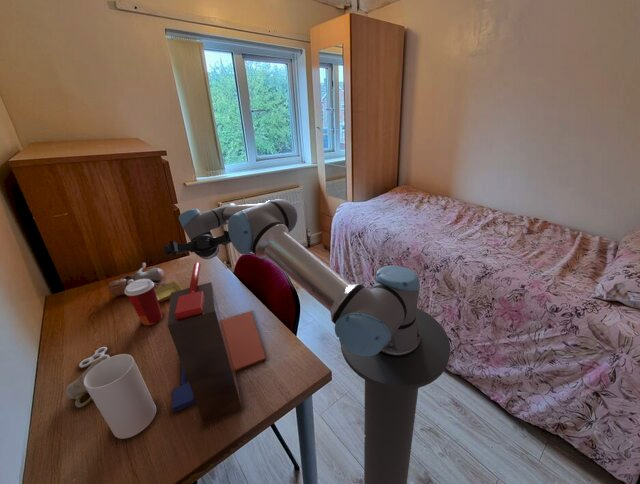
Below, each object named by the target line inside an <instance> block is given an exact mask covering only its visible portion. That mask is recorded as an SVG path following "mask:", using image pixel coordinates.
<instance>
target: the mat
mask: <svg viewBox="0 0 640 484" xmlns="http://www.w3.org/2000/svg"><path fill="white" fill-rule="evenodd" d="M222 323H223V327H224V331H225V334H226V338H227V342H228V346H229V349H230V353H231V357H232V361H233V364H234V368H235V372H237V371H240V370H243V369H245V368H247V367H250V366H253V365H255V364H258V363H260V362H263V361H265V360H266V356H265V353H264V349H263V346H262V341H261V338H260V336H259V332H258V329H257V326H256V322H255V319H254V316H253V313H252V311H247V312H244V313H241V314H237V315H234V316H232V317H228V318H224V319H222Z"/></svg>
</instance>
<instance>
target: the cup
mask: <svg viewBox="0 0 640 484" xmlns="http://www.w3.org/2000/svg"><path fill="white" fill-rule="evenodd" d="M106 358H107V357H106ZM84 386H85V387H86V389H87V391H88V393H87V394H89V396H90V397H91V398H92V401H93V402H94V404H95V406H96V407H97V409H98V411H99V413H100V414H101V416H102V418H103V419H104V421H105V423H106V425H107V426H108V427H109V429H110V430H111V432H112V434H113V436H114V437H115V438H117V439H129V438H132V437H134V436H136V435H138V434H139V433H141V432H142V431H144V430H145V429H146V428H148V426H150V425H151V423H152V422H153V420H154V419H155V417H156V414H157V406H156V403H155V401H154V399H153V397H152V395H151V393H150V390H149V388H148V386H147V384H146V382H145V380H144V378H143V375H142V374H141V372H140V369H139V367H138V365H137V363H136V361H135V358H134V357H133V355H131V354H128V353H120V354H116V355H112V356H110V357H109V358H107V359H105V360H103V361H101V362H100V363H98V364H97V365H95V366H94V367H93V368H92V369H91V370H90V371H89V372H88V373H87V374H86V376H85V378H84Z"/></svg>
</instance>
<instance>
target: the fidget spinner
mask: <svg viewBox="0 0 640 484" xmlns="http://www.w3.org/2000/svg"><path fill="white" fill-rule="evenodd" d="M107 351H108V347H107V346H102V347H99V348H97V349H96V350H95V351H94V354H93V355H92V356H90V357H88V358H84V359H83V360H81V362H79V363H78V367H79V368H81V369H82V368H86V367H87V368H88V367H89V366H90V365H91V364H92V363H93V362H95V361H96V360H98V359H100V358H102V357H106V358H109V357H111V356H110V355H109V354H106V352H107ZM86 362H87V363H86Z"/></svg>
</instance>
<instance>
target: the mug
mask: <svg viewBox="0 0 640 484" xmlns="http://www.w3.org/2000/svg"><path fill="white" fill-rule="evenodd" d="M105 359H107V357H102V358H100V359H98V360H96V361H95V362H93V363H92V364H90V365H89V366H87V368H86V369H85V371H84V372H83V373H82V374H81V375H80V376H79V377H78V378H77V379H76V380H74V381H73V382H71V383H70V384H68V385H67V387H66V389H65V395H66V397H67V398H69V399H70V400H75V401H74V405H75V407H77V408H82V407H84V406H86V405H88V404H89V403H91V402H92V401H93V399H92V398H91V396H90V397H89V398H88V399H87V400H86V401H83V402H81V399H82V398H83V397H84V396H85V395H87V394H89V393H88V391H87V389H86V387H85V386H84V378H85V376H86V374H87V373H88V372H89V371H90V370H91V369H92V368H93V367H94V366H95V365H97V364H98V363H100V362H101V361H103V360H105Z"/></svg>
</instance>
